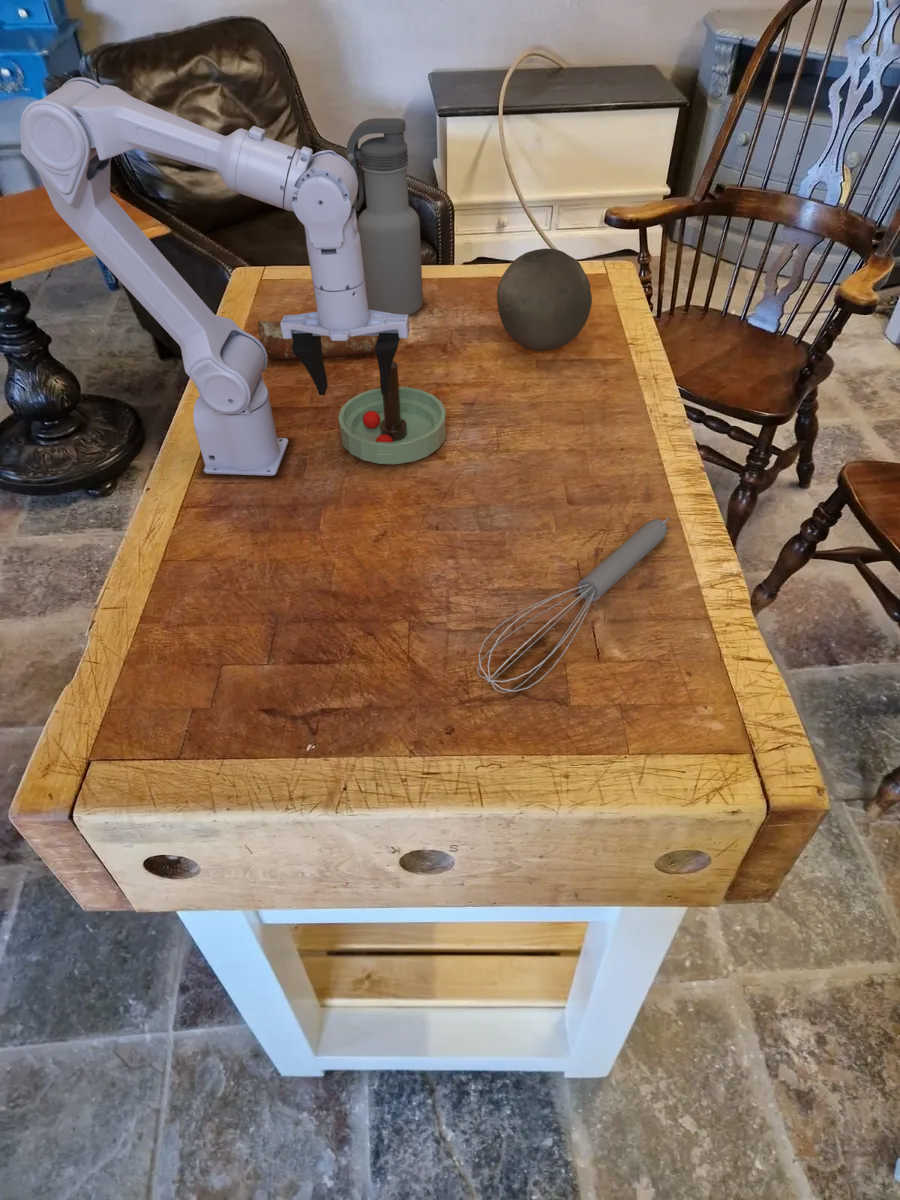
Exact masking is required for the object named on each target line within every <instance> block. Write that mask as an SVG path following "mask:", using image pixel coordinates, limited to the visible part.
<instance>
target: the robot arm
mask: <svg viewBox="0 0 900 1200" xmlns="http://www.w3.org/2000/svg"><path fill="white" fill-rule="evenodd" d="M133 150H141V151H144V152H147V153H150V154H154V155H156V156H161V157H163V158H167V159H171V160H174V161H178V162H181V163H184V164H188V165H190V166H194V167H198V168H201V169H205V170H208V171H212V172H214V173H217V174H218V175H219V177H220V178H221V180H222V181H223V183H224V184H225V186H226V188H227V189H228V190H229V191H231V192H234V193H237V194H240V195H243V196H246V197H248V198H252V199H253V200H256V201H260V202H263V203H266V204H268V205H271V206H274V207H277V208H279V209H283V210H285V211H288V212H293V213H294V215H295V216H296V218H297V219H298V221H299V222H300V223H301V224H302V225H303V226H304V233H305V242H306V243H305V245H306V249H307V256H308V262H309V263H308V264H309V269H310V273H311V279H312V286H313V287H312V288H313V292H314V300H315V305H316V311H311V312H305V313H299V314H298V313H297V314H284V315H283V317H282V318H281V320H280V321H281V323H280V325H281V330H282V335H283V339H291V338H293V344H292V351H293V353H294V355H295V356H296V357H297V358H298V359H297V360H299V361H300V362H301V364H302V365H303V366H304V368H305V369H306V371H307V373H308V374H309V375H310V377H311V379H312V381H313V384H314V385H315V388H316V390H317V392H318V395H319V396H325V395H326V392H327V390H328V387H329V386H328V385H329V384H328V375H327V371H326V367H325V363H324V357H323V356H322V346H321V336H329V337H330V339H331V340H332V341H346V340H348V339H349V337H353V336H379V337H378V340H377V342H376V346H375V356H376V359H377V364H378V370H379V384H380V387H379V388H381V394H382V395H388V391H389V381H390V370H391V365H392V361H394V359H395V355H396V353H397V350H398V348H399V345H400V344H399V343H400V339H408V338H409V336H410V318H409V316H410V315H409V316H408V315H400V314H391V313H386V312H380V311H374V310H368V302H367V294H366V285H365V276H364V268H363V259H362V251H361V242H360V235H359V230H358V219H357V211H355V209H354V208H353V203H354V201H355V199H356V196H357V197H358V192H359V182H358V176H357V175H356V173H355V170H354V169H353V167H352V163H350V161H349V160H348V159H346V158H345V157H343V156H341V155H340V154H337V152H335V151H334V150H331V149H326V150H325V149H324V150H320V151H317V152H315V153H314V154H313V151H314V150H313V149H312V148H310V147H307V146H305V145H304V146H302V148H296V147H294V146H291V145H288V144H285V143H282V142H280V141H277V140H275V139H272V138H269V137H267V136H266V130H265V129H264V128H261V127H258V126H256V125H253V126H251V128H250V129H249V130H248V129H245V128H238V129H236V130H234V131H233V132H232V133H229V134H228V135H223V134H221V133H219V132H216V131H214V130H212V129H209V128H207V127H204V126H202V125H199V124H198V123H195V122H192V121H190V120H188V119H185V118H183V117H181V116H178V115H176V114H173V113H172V112H168V111H166V110H165V109H163V108H159V107H157V106H155V105H152V104H150V103H147V102H145V101H143V100H140V99H138V98H136V97H134V96H132V95H130V94H129V93H127V92H126V91H124V90H122V89H121V88H119V86H114V85H109V84H103V85H102V84H101V83H99V82H97V81H95V80H94V79H91V78H88V77H81V76H79V77H73V78H70V79H68V80H67V81H66V82H64V83H63V84H62V86H61V87H59V88H57V89H56V90H54V91H53V92H51V93H50V94H47V95H46V96H45V97H42V98H41V99H37V100H34V101H32V102H31V103H29V104H28V105H27V106H26V107H25V108H24V110H23V112H22V114H21V117H20V152H21V154H22V156H23V157H24V158H26V160H27V161H28V162H29V163H30V164H31V165H32V167H33V168H34V169H35V170H36V171H37V173H38V175H39V178H40V179H41V181H42V182H41V183H43V187H44V189H45V191H46V193H47V195H48V197H49V199H50V202H51V204H52V206H53V208H54V210H55V211H56V213H57V214H58V215H59V217H60V218H61V219H62V220H63V221H64V222H65V223H66V225H68V226H69V228H70V229H71V230H72V231H73V232H74V233H75V234H76V235H77V237H79V239H80V240H81V241H82V242H83V243H84V244H85V245H86V246H87V247H88V248H89V249H90V250H91V252H93V254H95V256H96V257H97V258H98V259H99V260H100V261H101V262H102V263H103V265H105V267H106V268H107V269H108V270H109V271H110V272H111V273H112V274H113V275H114V276H115V278H117V279H118V281H119V282H120V283H121V284H122V285H123V286H124V287H125V288H126V289H127V290H128V292H130V294H132V296H133V297H134V298H135V299H136V300H137V301H138V302H139V304H141V306H143V308H144V309H145V310H146V311H147V312H148V313H149V314H150V315H151V316H152V317H153V319H154V320H155V321H156V322H158V324H159V325H160V326H161V327H162V328H163V329H164V330H165V331H166V333H168V335H169V336H170V337H171V338H172V339H173V340H174V341H175V343H177V345H178V346H179V347H180V350H181V357H182V363H183V369H184V372H185V373H186V375H187V376H188V377H189V378H190V379H191V381H192V382H193V384H194V385H195V387H196V390H197V394H198V395H199V396H198V397H197V398H196V400H195V403H194V407H193V417H192V418H193V427H194V431H195V435H196V439H197V442H198V445H199V449H200V452H201V456H202V459H203V463H204V468H203V472H204V474H207V475H209V474H210V475H241V476H267V477H274V476H277V473H278V471H279V468H280V465H281V463H282V460H283V458H284V455H285V453H286V450H287V447H288V444H289V439H288V438H286V437H278V434H277V429H276V425H275V420H274V414H273V409H272V405H271V399H270V394H269V389H268V387H267V385H266V383H265V382H264V378H263V374H264V372H265V370H266V369H267V367H268V361H269V358H268V356H267V352H266V350H265V348H264V346H263V344H262V343H261V342H260V339H258V338H257V337H255V336H254V335H253V334H250V333H249V332H247V331H245V330H244V329H242V328H241V327H240V326H238V324H237V323H236V322H235V321H234V320H233V318H232V319H231V318H229V317H227V316H222V315H221V316H220V315H217V314H215V313H214V312H213V310H211V309H210V308H209V306H208V305H207V304H206V303H205V301H203V299H202V298H200V296H199V295H198V294H197V292H195V291H194V289H193V288H192V286H190V285H189V283H188V282H187V281H186V280H185V279H184V278H183V277H182V275H181V274H180V273H179V272H178V271H177V269H176V268H175V267H174V266H173V265H172V264H171V263H170V261H169V260H168V259H167V258H166V257H165V256H164V255H163V253H161V251H160V250H159V249H158V247H157V246H156V245H154V243H153V242H152V241H151V240H150V238H149V237H148V236H147V235H146V234H145V233H144V231H142V229H141V228H140V227H139V226H138V225H137V223H136V222H135V221H134V220H133V218H131V217H130V215H129V214H128V213H127V212H126V211H125V209H124V208H123V207H122V206H121V205H120V204H119V202H118V201H117V200H115V198H114V197H113V196H112V194H111V165H112V164H111V161H112V158H113V157H116V156H119V155H122V154H125V153H127V152H130V151H133Z"/></svg>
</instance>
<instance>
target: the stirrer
mask: <svg viewBox="0 0 900 1200" xmlns="http://www.w3.org/2000/svg"><path fill="white" fill-rule="evenodd" d="M399 387H400V382H399V368H398V363H397V362H396V361H394V360H393V361H392V365H391V370H390V381H389V391H388V395H383V407H384V419H385V420H383V421H382V422H381V423H380V433H381V435H382V434H387V435H389V436H390V437H391V438H392V439H393V441H398V440H401V439H403V438H405V437H406V435H407V423H406V421H405V420H403V419H401V411H400V396H399Z"/></svg>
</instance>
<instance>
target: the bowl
mask: <svg viewBox="0 0 900 1200" xmlns="http://www.w3.org/2000/svg"><path fill="white" fill-rule="evenodd" d="M399 396H400V411H401V419H403V420H405V421H406V423H407V435H406V437H405V438H403V439H401V440H398V441H393V442H375V441H376V439H377V437H378V436H380V435H381V433H380V424H379V426H378V427H376V428H374V429H369V428H367V427H366V426H365V425H364V423H363V416H364V414H365V413H366V412H368V411H375V412H377V413H378V414H379V416H380V423H381V422H382V421H383V420H385V419H384V407H383V395H382V394H381V388H380V387H377V388H373V389H369V390H366V391H363V392H360V393H358V394H357V395H355V396H354V397H351V398H349V400H347V401H346V402H345V404H344V405H343V406H341V408H340V410H339V412H338V413H339V414H338V417H337V421H338V426H339V428H338V429H339V436H340V439H341V444H342V446H343V447H344V449H345V450H346V451H347V452H348V453H349V454H350V455H352V456H354V457H355V458H358V459H360V460H362V461H365V462H369V463H373V464H377V465H400V464H407V463H413V462H416V461H419V460H421V459H423V458H426V457H428V456H430V455H431V454H433V453H434V452H436V451H437V450H438V449H439V448H440V447H441V445H442V444H443V443H444V442H445V441H446V437H447V411H446V408H445V406H444V404H443V402H442V401H441V400H440V399H439V398H437V397H436V396H435V395H434V394H431V393H430V392H428V391H425V390H422V389H417V388H413V387H410V386H399Z"/></svg>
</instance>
